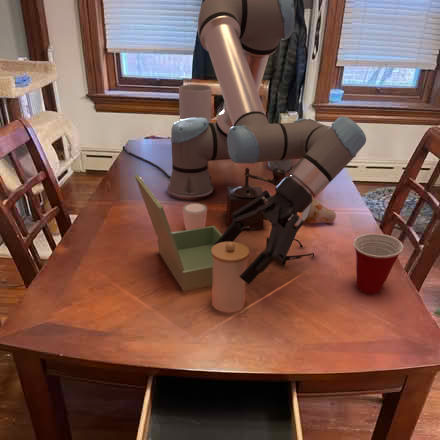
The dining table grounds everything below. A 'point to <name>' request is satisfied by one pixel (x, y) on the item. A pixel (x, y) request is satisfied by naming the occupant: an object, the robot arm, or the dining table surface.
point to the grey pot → (280, 164)
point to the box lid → (159, 221)
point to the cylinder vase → (195, 101)
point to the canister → (228, 276)
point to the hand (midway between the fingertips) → (230, 264)
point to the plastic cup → (375, 260)
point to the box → (192, 256)
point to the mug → (318, 213)
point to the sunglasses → (292, 256)
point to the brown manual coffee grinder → (249, 195)
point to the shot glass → (194, 215)
